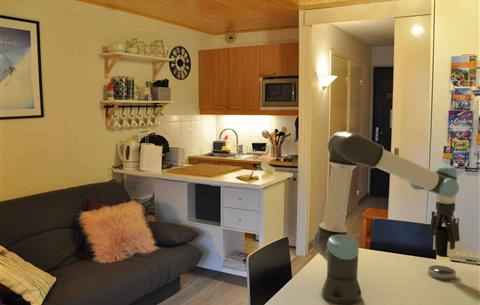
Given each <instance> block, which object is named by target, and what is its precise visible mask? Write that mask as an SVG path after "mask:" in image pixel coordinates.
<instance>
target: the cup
mask: <svg viewBox="0 0 480 305" xmlns="http://www.w3.org/2000/svg"><path fill="white" fill-rule="evenodd" d="M452 239H453V238H452ZM448 241H450V240H449V236H448V231H447V228H446V226H445V225H444V226H443V225H442V227H441V228H439V229H437V227H435V242H436V250H435V254H436V256H438V257H441V258H449V257H451V256H447V248H448Z"/></svg>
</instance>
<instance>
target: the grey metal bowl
mask: <svg viewBox="0 0 480 305" xmlns="http://www.w3.org/2000/svg"><path fill="white" fill-rule="evenodd" d="M427 271H428V272H427V275H428V276H429V277H431V278H433V279H436V280H438V281H445V282H446V281H447V282H448V281H449V282H450V281H454V280H455V279H456V276H457V275H456V274H457V272H456V270H455V269H453V268H451V267H448V266H446V265H445V266H444V265H430V266H429V267H428V269H427Z"/></svg>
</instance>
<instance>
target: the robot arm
mask: <svg viewBox="0 0 480 305" xmlns="http://www.w3.org/2000/svg"><path fill="white" fill-rule="evenodd" d="M327 150H328V153H329V156H328V157H329V159H328V163H329V165H330V166H331V168H330V169H331V170H330V176H329V183H328V190H327V194H326V195H327V196H326V203H325V210H324V215H323V216H324V217H323V221H322V222H321V223H319V224H318V230H317V231H316V232H315V233H314V236H313V245H314V248H315V249H316V251H317V252H318V254H319V256H322V257H323V259H324V260H325V261H326V263H327V264H326V265H327V266H326V278H325V280H324V283H323V286H322V288H321V290H322V291H321V295H322V297H323V299H324V300H326V301H328V302H329V303H333V304H336V305H354V304H357V303H359V302H361V300H362V290H361V286H360V283H359V280H358V271H359V270H358V268H359V266H358V265H359V264H358V263H359V251H360V250H359V244H358V241H357V240H356V239H355V238H354V237H352V236H349V235H347V234H348V229H347V228H346V226H345V221H346V214H347V208H348V202H349V195H350V188H351V182H352V176H353V170H354V169H355V168H357V167H358V164H359V165H361V166H365V167H368V168H370V169H374V168H377V169H379V170H381V171H384V172H386V173H388V174H390V175H393V176H395V177H398V178H400V179H402V180H405V181H406V182H409V184H410V187H411V188H412V189H413V190H418V191H419V190H420V191H421V190H424V191H427V192H430V193H434V194H436V198H435V199H436V200H435V201H436V202H435V209H436V210H434V211H431V219H430V226H429V233H431V234H432V241H433V245H432V250H434V251H436V242H435V227H437V229H439V228H441V227H442V226H443V224H444V226H446V228H447V231H448V236H449V240H450V241H448V248H447V256H450V257H454V255H455V254H454V252H455V249H456V242H460V240H461V239H460V229H459V226H460V225H459V224H460V218H459V217H455V215H454V212H455V211H456V203H455V202H456V198H457V197H456V195H457V194H458V192H459V190H460V186H459V185H460V184H459V183H458V182H457V179H458V171H457V167H455V166H450V165H439V166H438V167H437V171H433V170H431V169H429V168H426V167H424V166H422V165H419V164H418V163H416V162H413V161H411V160H409V159H406V158H404V157H402V156H400V155H397V154H395V153H392V152H391V151H388V150H387V149H385V147H384V146H383V145H381V144H379V143H377V142H375V141H373V140H371V139H369V138H368V137H366V136H364V135H363V134H360V133H357V132H351V131H347V130H346V131H344V130H342V131H338V132H335V133H334V134H332V135H331V136H330V138H329V139H328V141H327ZM452 238H453V239H452Z"/></svg>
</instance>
